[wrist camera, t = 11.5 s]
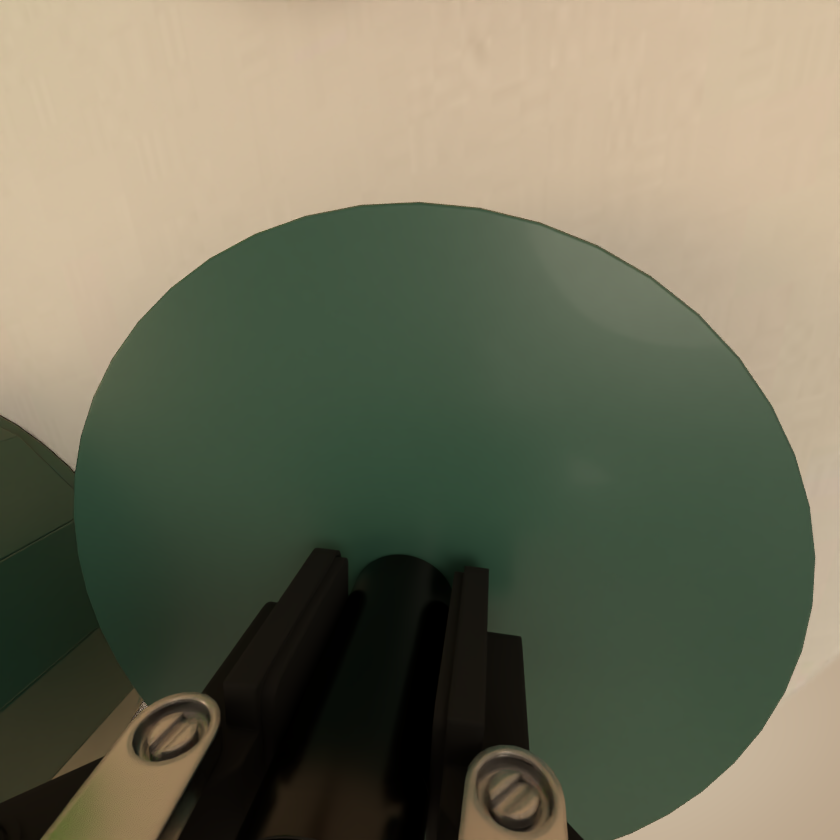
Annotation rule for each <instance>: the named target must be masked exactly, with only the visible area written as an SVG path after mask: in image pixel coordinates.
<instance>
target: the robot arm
mask: <svg viewBox="0 0 840 840" xmlns="http://www.w3.org/2000/svg"><path fill="white" fill-rule="evenodd" d="M488 590H489V569H488V568H480V567H472V566H465V568H464V572H458V571H455V572H454V579H453V585H452V592H451V599H450V606H449V613H448V619H447V626H446V633H445V640H444V646H443V653H442V660H441V667H440V674H439V680H438V687H437V694H436V701H435V709H434V718H433V728H432V743H431V759H430V775H429V781H430V790H431V795H430V803H429V810H428V818H427V826H426V837H425V840H584V839H583V838H582V837H581V836H580V835H579V834H578V833H577V832H576V831H575V830H574V829H573V827H572V826H571V825H570V824H569V823H568V822H567V819H566V807H565V799H564V795H563V791H562V786H561V784H560V782H559V781H558V779H557V777H556V775H555V773H554V771H553V770H552V769H551V768H550V767H549V766H548V765H547V764H546V763H545V762H544V761H543V760H542V759H541V758H539V757H538V756H536V755H535V754H533V753H532V752H530V749H529V735H528V720H527V705H526V691H525V676H524V661H523V647H522V638H521V636H515V635H508V634H501V633H494V632H487V624H488ZM347 599H348V559H347V558H345V557H341V553H340V551H339V550H333V549H324V548H315V549H314V550H313V551H312V552H311V554H310V555H309V557H308V558H307V560H306V561H305V563H304V564H303V566H302V567H301V568H300V570H299V571H298V573H297V574H296V576H295V577H294V579H293V580H292V582H291V583H290V585H289V586H288V588H287V589H286V591H285V592H284V593H283V595H282V596H281V598H280V599H279V601H278V602H271V601H270V602H268V603H266V604H265V605H264V606H263V607H262V609H261V610H260V612H259V613H258V614H257V616H256V617H255V619H254V620H253V621H252V623H251V624H250V626H249V627H248V628H247V630H246V631H245V633H244V634H243V635H242V637H241V638H240V640H239V641H238V642H237V644H236V645H235V647H234V648H233V649H232V651H231V652H230V654H229V655H228V656H227V658H226V659H225V661H224V662H223V663H222V665H221V666H220V668H219V669H218V670H217V672H216V673H215V674H214V676H213V677H212V679H211V680H210V681H209V683H208V684H207V686H206V687H205V688H204V690H203V691H202V693H199V692H181V693H177V694H173V695H169V696H167V697H165V698H162V699H160V700H158V701H156V702H154V703H152V704H151V705H150V706H148V707H147V708H145V709H144V710H142V711H141V712H140V713H139V714H138V715H137V716H136V717H135V718H134V719H133V720H132V721H131V722H130V724H129V725H128V726H127V728H126V729H125V730H124V732H123V733H122V734H121V735H120V737H119V738H118V739H117V741H116V742H115V743H114V745H113V746H112V747H111V748H110V750H109V751H108V752H107V754H106V755H105V756H103V757H101V758H99V759H97V760H94V761H92V762H90V763H88V764H86V765H83V766H81V767H79V768H77V769H75V770H72V771H70V772H68V773H66V774H63V775H61V776H59V777H57V778H55V779H52V780H50V781H48V782H46V783H44V784H41V785H39V786H37V787H35V788H33V789H30V790H28V791H26V792H24V793H22V794H19V795H17V796H15V797H13V798H10V799H8V800H6V801H4V802H2V803H0V840H235V838H236V836H237V834H238V832H239V829H240V827H241V825H242V823H243V821H244V819H245V817H246V814H247V812H248V810H249V808H250V806H251V804H252V802H253V800H254V797H255V795H256V793H257V791H258V789H259V787H260V785H261V782H262V780H263V778H264V776H265V774H266V772H267V770H268V768H269V765H270V763H271V761H272V759H273V757H274V755H275V753H276V750H277V748H278V746H279V744H280V742H281V740H282V738H283V735H284V733H285V731H286V729H287V727H288V725H289V723H290V721H291V718H292V716H293V714H294V712H295V710H296V708H297V706H298V703H299V701H300V699H301V697H302V695H303V693H304V691H305V688H306V686H307V684H308V682H309V680H310V678H311V676H312V674H313V671H314V669H315V667H316V665H317V663H318V661H319V659H320V656H321V654H322V652H323V650H324V648H325V646H326V644H327V642H328V639H329V637H330V635H331V633H332V631H333V629H334V627H335V624H336V622H337V620H338V618H339V616H340V614H341V612H342V609H343V607H344V605H345V603H346V601H347Z"/></svg>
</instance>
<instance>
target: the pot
mask: <svg viewBox="0 0 840 840" xmlns="http://www.w3.org/2000/svg"><path fill="white" fill-rule="evenodd" d="M74 476H75V473H74V472H73V471H72V470H71V469H70V468H69V467H68V466H67V465H66V464H65V463H64V462H63V461H61V460H60V459H59V458H58V457H57V456H56V455H55V454H54V453H53V452H51V451H50V450H49V449H48V448H47V447H46V446H45V445H43V444H42V443H41V442H39V441H38V440H37V439H35V438H34V437H32V436H31V435H30V434H28V433H27V432H25V431H24V430H23V429H21V428H20V427H19V426H17V425H15V424H14V423H12V422H10V421H8V420H7V419H5V418H3V417H2V416H0V803H2V802H4V801H6V800H8V799H10V798H13V797H15V796H17V795H19V794H22V793H24V792H26V791H28V790H30V789H33V788H35V787H37V786H39V785H41V784H44V783H46V782H48V781H50V780H52V779H55V778H57V777H59V776H61V775H63V774H66V773H68V772H70V771H72V770H75V769H77V768H79V767H81V766H83V765H86V764H88V763H90V762H92V761H94V760H97V759H99V758H101V757H103V756H105V755H106V754H107V752H108V751H109V750H110V748H111V747H112V746H113V745H114V743H115V742H116V741H117V739H118V738H119V737H120V735H121V734H122V733H123V732H124V730H125V729H126V728H127V726H128V725H129V724H130V722H131V720H132V718H133V717H134V715H135V714H136V712H137V711H138V710H139V708H140V705H141V703H142V701H143V699H142V698H141V697H140V696H139V694H138V693H137V691H136V690H135V688H134V687H133V685H132V684H131V682H130V680H129V679H128V677H127V676H126V674H125V673H124V671H123V670H122V668H121V667H120V665H119V664H118V662H117V660H116V658H115V656H114V654H113V652H112V650H111V648H110V646H109V644H108V642H107V640H106V638H105V636H104V634H103V632H102V630H101V628H100V626H99V623H98V620H97V618H96V615H95V612H94V610H93V607H92V604H91V602H90V599H89V596H88V594H87V590H86V586H85V582H84V578H83V574H82V570H81V565H80V561H79V557H78V551H77V542H76V533H75V524H74Z"/></svg>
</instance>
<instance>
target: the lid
mask: <svg viewBox="0 0 840 840" xmlns="http://www.w3.org/2000/svg"><path fill="white" fill-rule="evenodd" d="M74 524H75V533H76V542H77V551H78V557H79V561H80V565H81V570H82V574H83V578H84V582H85V586H86V590H87V594H88V596H89V599H90V602H91V604H92V607H93V610H94V612H95V615H96V618H97V620H98V623H99V626H100V628H101V630H102V632H103V634H104V636H105V638H106V640H107V642H108V644H109V646H110V648H111V650H112V652H113V654H114V656H115V658H116V660H117V662H118V664H119V665H120V667H121V668H122V670H123V671H124V673H125V674H126V676H127V677H128V679H129V680H130V682H131V684H132V685H133V687H134V688H135V690H136V691H137V693H138V694H139V696H140V697H141V698H142V699H143V701H144V702H145V703H146V704H147V705H148V706H150V705H151V704H152V703H154V702H156V701H158V700H160V699H162V698H165V697H167V696H169V695H173V694H177V693H181V692H199V693H202V691H203V690H204V688H205V687H206V686H207V684H208V683H209V681H210V680H211V679H212V677H213V676H214V674H215V673H216V672H217V670H218V669H219V668H220V666H221V665H222V663H223V662H224V661H225V659H226V658H227V656H228V655H229V654H230V652H231V651H232V649H233V648H234V647H235V645H236V644H237V642H238V641H239V640H240V638H241V637H242V635H243V634H244V633H245V631H246V630H247V628H248V627H249V626H250V624H251V623H252V621H253V620H254V619H255V617H256V616H257V614H258V613H259V612H260V610H261V609H262V607H263V606H264V605H265V604H266V603H268V602H270V601H271V602H278V601H279V599H280V598H281V596H282V595H283V593H284V592H285V591H286V589H287V588H288V586H289V585H290V583H291V582H292V580H293V579H294V577H295V576H296V574H297V573H298V571H299V570H300V568H301V567H302V566H303V564H304V563H305V561H306V560H307V558H308V557H309V555H310V554H311V552H312V551H313V550H314V549H315V548H324V549H333V550H339V551H340V553H341V557H345V558H347V559H348V599H347V601H346V603H345V605H344V607H343V609H342V612H341V614H340V616H339V618H338V620H337V622H336V624H335V627H334V629H333V631H332V633H331V635H330V637H329V639H328V642H327V644H326V646H325V648H324V650H323V652H322V654H321V656H320V659H319V661H318V663H317V665H316V667H315V669H314V671H313V674H312V676H311V678H310V680H309V682H308V684H307V686H306V688H305V691H304V693H303V695H302V697H301V699H300V701H299V703H298V706H297V708H296V710H295V712H294V714H293V716H292V718H291V721H290V723H289V725H288V727H287V729H286V731H285V733H284V735H283V738H282V740H281V742H280V744H279V746H278V748H277V750H276V753H275V755H274V757H273V759H272V761H271V763H270V765H269V768H268V770H267V772H266V774H265V776H264V778H263V780H262V782H261V785H260V787H259V789H258V791H257V793H256V795H255V797H254V800H253V802H252V804H251V806H250V808H249V810H248V812H247V814H246V817H245V819H244V821H243V823H242V825H241V827H240V829H239V832H238V834H237V836H236V838H235V840H425V837H426V826H427V818H428V810H429V803H430V795H431V790H430V781H429V775H430V759H431V743H432V728H433V718H434V709H435V701H436V694H437V687H438V680H439V674H440V667H441V660H442V653H443V646H444V640H445V633H446V626H447V619H448V613H449V606H450V599H451V592H452V585H453V579H454V572H455V571H458V572H464V568H465V566H472V567H480V568H488V569H489V590H488V624H487V632H494V633H501V634H508V635H515V636H521V638H522V647H523V661H524V676H525V691H526V705H527V720H528V735H529V749H530V752H532V753H533V754H535V755H536V756H538V757H539V758H541V759H542V760H543V761H544V762H545V763H546V764H547V765H548V766H549V767H550V768H551V769H552V770H553V771H554V773H555V775H556V777H557V779H558V781H559V782H560V784H561V786H562V791H563V795H564V799H565V807H566V819H567V822H568V823H569V824H570V825H571V826H572V827H573V829H574V830H575V831H576V832H577V833H578V834H579V835H580V836H581V837H582V838H583V839H584V840H614V839H617V838H620V837H623V836H625V835H628V834H631V833H633V832H635V831H637V830H639V829H641V828H643V827H645V826H647V825H649V824H651V823H653V822H655V821H656V820H658V819H660V818H662V817H664V816H666V815H668V814H670V813H671V812H673V811H674V810H676V809H677V808H679V807H680V806H682V805H683V804H685V803H686V802H687V801H689V800H690V799H692V798H693V797H695V796H696V795H698V794H699V793H701V792H702V791H703V790H704V789H706V788H707V787H708V786H709V785H710V784H711V783H712V782H714V781H715V780H716V779H717V778H718V777H719V776H720V775H721V774H722V773H724V772H725V771H726V770H727V769H728V768H729V767H730V766H731V765H732V764H734V763H735V761H736V760H737V759H738V758H739V757H740V755H741V754H742V753H743V752H744V751H745V750H746V748H747V747H748V746H749V745H750V744H751V742H752V741H753V740H754V739H755V738H756V736H757V735H758V734H759V733H760V732H761V731H762V729H763V727H764V726H765V724H766V722H767V721H768V719H769V718H770V716H771V714H772V713H773V711H774V709H775V708H776V706H777V704H778V703H779V701H780V700H781V698H782V696H783V695H784V693H785V691H786V688H787V686H788V683H789V681H790V679H791V676H792V674H793V671H794V669H795V666H796V664H797V662H798V659H799V657H800V654H801V652H802V648H803V644H804V640H805V635H806V631H807V626H808V622H809V618H810V613H811V609H812V602H813V585H814V568H815V551H814V542H813V533H812V524H811V515H810V506H809V503H808V499H807V496H806V492H805V489H804V485H803V482H802V478H801V475H800V471H799V467H798V464H797V460H796V457H795V454H794V452H793V450H792V448H791V445H790V443H789V441H788V439H787V437H786V435H785V433H784V431H783V428H782V426H781V424H780V422H779V420H778V418H777V416H776V413H775V411H774V409H773V407H772V405H771V404H770V402H769V401H768V399H767V398H766V396H765V395H764V393H763V392H762V390H761V389H760V387H759V386H758V384H757V383H756V381H755V380H754V378H753V377H752V376H751V374H750V373H749V371H748V370H747V368H746V367H745V365H744V364H743V362H742V361H741V359H740V358H739V357H738V356H737V355H736V354H735V352H734V351H733V350H732V349H731V348H730V347H729V346H728V345H727V344H726V343H725V342H724V341H723V340H722V339H721V337H720V336H719V335H718V334H717V333H716V332H715V331H714V330H713V329H712V328H711V327H710V326H709V325H708V324H707V322H706V321H705V320H704V319H703V318H702V317H701V316H700V315H699V314H698V313H697V312H695V311H694V310H693V309H692V308H690V307H689V306H688V305H686V304H685V303H684V302H683V301H681V300H680V299H679V298H678V297H676V296H675V295H674V294H673V293H671V292H670V291H669V290H668V289H666V288H665V287H664V286H663V285H661V284H660V283H659V282H657V281H656V280H655V279H654V278H652V277H651V276H649V275H648V274H646V273H644V272H643V271H641V270H639V269H637V268H636V267H634V266H632V265H630V264H629V263H627V262H625V261H624V260H622V259H620V258H618V257H617V256H615V255H613V254H611V253H610V252H608V251H606V250H604V249H603V248H601V247H599V246H598V245H595V244H593V243H590V242H588V241H585V240H583V239H580V238H578V237H575V236H573V235H570V234H568V233H565V232H563V231H560V230H558V229H555V228H553V227H550V226H548V225H545V224H543V223H540V222H536V221H532V220H528V219H524V218H520V217H516V216H511V215H507V214H503V213H499V212H495V211H491V210H487V209H483V208H476V207H466V206H455V205H445V204H435V203H424V202H411V203H391V204H370V205H358V206H353V207H348V208H343V209H338V210H333V211H328V212H323V213H318V214H313V215H308V216H304V217H301V218H298V219H296V220H293V221H290V222H287V223H284V224H282V225H279V226H276V227H273V228H270V229H268V230H265V231H262V232H259V233H256V234H254V235H252V236H250V237H249V238H247V239H245V240H243V241H241V242H239V243H237V244H236V245H234V246H232V247H230V248H228V249H226V250H224V251H223V252H221V253H219V254H217V255H215V256H213V257H212V258H210V259H208V260H207V261H206V262H205V263H203V264H202V265H201V266H199V267H198V268H197V269H195V270H194V271H193V272H191V273H190V274H189V275H187V276H186V277H185V278H183V279H182V280H181V281H179V282H178V283H177V284H175V285H174V286H173V287H171V288H170V289H169V291H168V292H167V293H166V294H165V295H164V296H163V297H162V298H161V299H160V300H159V301H158V302H157V303H156V304H155V305H154V306H153V307H152V308H151V309H150V310H149V311H148V312H147V313H146V314H145V315H144V316H143V317H142V319H141V320H140V321H139V322H138V323H137V324H136V326H135V327H134V329H133V330H132V331H131V333H130V334H129V336H128V337H127V339H126V340H125V341H124V343H123V344H122V346H121V347H120V349H119V350H118V351H117V353H116V354H115V356H114V357H113V358H112V360H111V362H110V365H109V367H108V369H107V371H106V373H105V375H104V377H103V379H102V381H101V383H100V385H99V387H98V389H97V391H96V393H95V395H94V397H93V400H92V403H91V406H90V410H89V413H88V416H87V419H86V422H85V425H84V429H83V432H82V435H81V439H80V445H79V452H78V458H77V464H76V470H75V476H74Z"/></svg>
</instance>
